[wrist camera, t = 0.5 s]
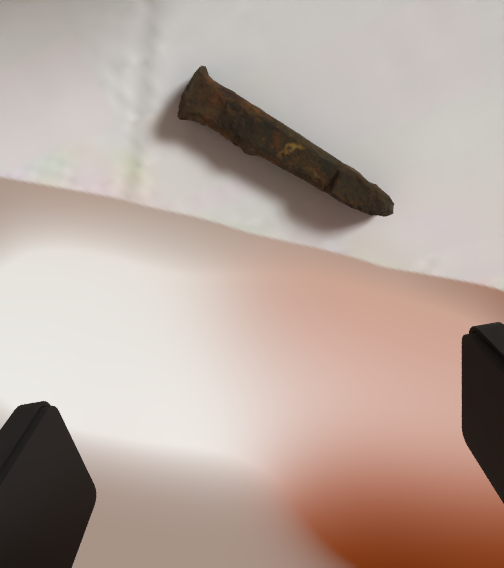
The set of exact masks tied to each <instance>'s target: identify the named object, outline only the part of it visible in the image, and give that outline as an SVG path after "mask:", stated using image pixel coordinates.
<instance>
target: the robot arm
mask: <svg viewBox="0 0 504 568" xmlns="http://www.w3.org/2000/svg"><path fill="white" fill-rule="evenodd" d="M462 432H463V436H464V439H465V442H466V444H467V446H468V447H469V449H470V450H471V452H472V454H473V455H474V457H475V458H476V460H477V462H478V463H479V465H480V466H481V468H482V470H483V471H484V473H485V475H486V476H487V478H488V479H489V481H490V482H491V484H492V486H493V487H494V489H495V490H496V492H497V494H498V495H499V497H500V498H501V500H502V501H503V503H504V324H502V323H500V322H496V323H490V324H485V325H479V326H473V327H471V328H470V331H469V334H466V335H464V336H463V337H462ZM95 501H96V489H95V485H94V483H93V481H92V479H91V477H90V475H89V473H88V471H87V469H86V467H85V465H84V462H83V460H82V458H81V456H80V454H79V452H78V450H77V448H76V446H75V444H74V442H73V440H72V438H71V435H70V433H69V431H68V429H67V427H66V425H65V423H64V421H63V419H62V417H61V415H60V413H59V411H58V409H57V408H56V407H55V406H51V405H50V404H49V403H48V402H46V401H41V402H36V403H30V404H24V405H20V406H18V407H17V408H16V409H15V410H14V412H13V413H12V414H11V416H10V417H9V419H8V420H7V422H6V423H5V424H4V426H3V427H2V428H1V430H0V568H72V565H73V562H74V560H75V557H76V554H77V551H78V549H79V546H80V543H81V541H82V538H83V535H84V532H85V530H86V527H87V524H88V521H89V519H90V516H91V513H92V510H93V508H94V505H95Z"/></svg>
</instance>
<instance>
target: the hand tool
mask: <svg viewBox="0 0 504 568" xmlns="http://www.w3.org/2000/svg"><path fill="white" fill-rule="evenodd" d="M177 117H178V118H179V119H181V120H192V121H196V122H198V123H200V124H202V125H207V126H208V127H210V128H211V129H213V130H215V131H217V132H219V133H220V134H221V135H222V136H224V137H225V138H226V139H228V140H230V141H231V142H233V144H235V145H236V146H239V147H240V148H241V149H242V150H243V151H244V152H245V153H246V154H249V155H256V156H261V157H263V158H265V159H267V160H269V161H271V162H272V163H274V164H276V165H277V166H279V167H281V168H282V169H284V170H286V171H288V172H290V173H292V174H294V175H296V176H298V177H300V178H301V179H303V180H305V181H307V182H308V183H310V184H312V185H313V186H315V187H316V188H318V189H320V190H321V191H324V192H327V193H328V194H330V195H331V196H332V197H334V198H335V199H337V200H338V201H340V202H342V203H344V204H346V205H348V206H349V207H351V208H354V209H357V210H359V211H361V212H364V213H367V214H369V215H380V216H383V217H384V216H389V215H391V214H393V206H394V203H393V202H392V200H391V198H390V197H389V196H388V195H387V194H386V193H385V192H384V191H383V190H381V189H380V188H379V187H378V186H377V185H376V184H373V183H370V182H368V181H367V180H366V179H365V178H364V177H363V176H362V175H361V174H360V173H359V172H358V171H356V170H355V169H354V168H352V167H350V166H348V165H346V164H344V163H342V162H341V161H339V160H338V159H336V158H335V157H333V156H332V155H330V154H329V153H327V152H326V151H324V150H322V149H321V148H319V147H318V146H316V145H315V144H313V143H312V142H310V141H309V140H307V139H306V138H304V137H303V136H301V135H300V134H298V133H297V132H295V131H294V130H292V129H290V128H289V127H287V126H286V125H284V124H283V123H281V122H279V121H278V120H276V119H275V118H273V117H271V116H270V115H268V114H267V113H265V112H264V111H263V110H261V109H260V108H258V107H256V106H255V105H253V104H251V103H249V102H248V101H247V100H245V99H243V98H242V97H240V96H239V95H237V94H236V93H235V92H233V91H231V90H229V89H227V88H225V87H223V86H222V85H220V84H218V83H217V82H215V81H214V80H212V78H211V77H210V76H209V75H208V72H207V69H206V66H201V67H199V69H198V70H197V71H196V72H195V73H194V75H193V77H192V79H191V80H190V82H189V84H188V86H187V87H186V90H185V91H184V93H183V95H182V97H181V102H180V105H179V111H178V116H177Z"/></svg>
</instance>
